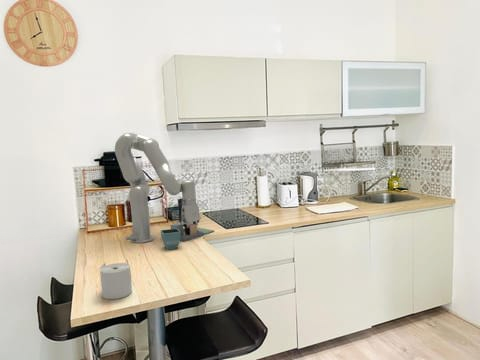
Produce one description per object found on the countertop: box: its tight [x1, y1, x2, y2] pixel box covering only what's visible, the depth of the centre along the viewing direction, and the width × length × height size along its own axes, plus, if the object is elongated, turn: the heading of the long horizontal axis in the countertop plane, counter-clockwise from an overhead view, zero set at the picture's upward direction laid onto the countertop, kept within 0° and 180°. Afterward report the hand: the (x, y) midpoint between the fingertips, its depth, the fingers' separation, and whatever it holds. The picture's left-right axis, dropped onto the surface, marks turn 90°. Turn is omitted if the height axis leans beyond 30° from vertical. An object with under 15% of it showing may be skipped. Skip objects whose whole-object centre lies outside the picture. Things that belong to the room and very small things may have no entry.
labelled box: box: [185, 222, 198, 236], centre depth 219 cm, size 5×5×7 cm
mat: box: [197, 226, 215, 236], centre depth 230 cm, size 8×14×1 cm, turn 48°
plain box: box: [170, 222, 184, 236], centre depth 220 cm, size 5×5×6 cm
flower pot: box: [160, 228, 181, 250], centre depth 199 cm, size 9×9×9 cm
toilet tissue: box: [99, 262, 133, 300], centre depth 143 cm, size 11×12×10 cm
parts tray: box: [180, 227, 204, 243], centre depth 220 cm, size 14×16×2 cm
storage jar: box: [177, 197, 183, 223], centre depth 259 cm, size 10×10×15 cm
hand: (191, 232), depth 219 cm, fingers closed on labelled box, 5 cm apart
